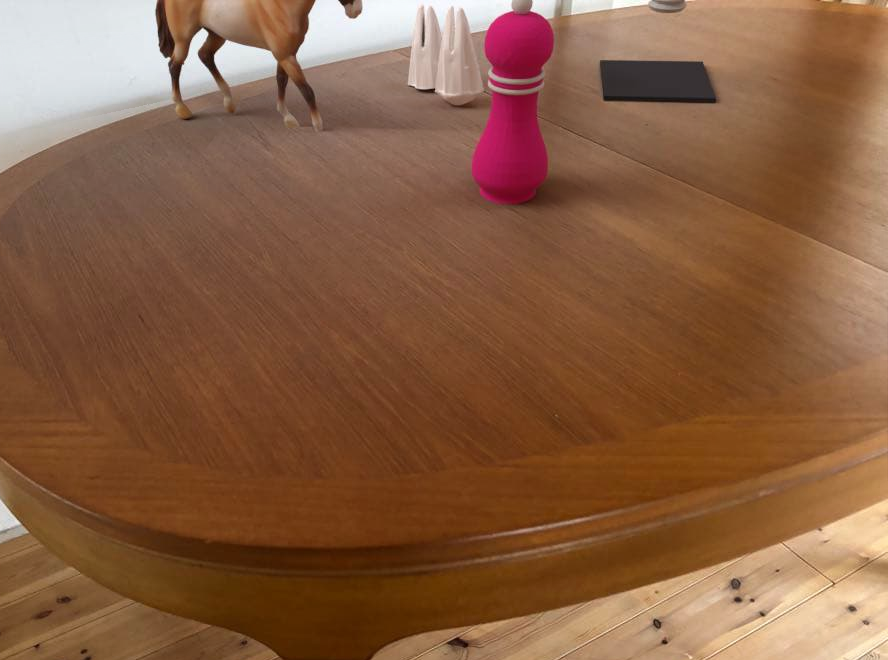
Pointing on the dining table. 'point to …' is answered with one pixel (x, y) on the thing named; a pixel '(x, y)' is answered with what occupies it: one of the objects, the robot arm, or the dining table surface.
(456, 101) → the shaker set
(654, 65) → the placemat
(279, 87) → the horse figurine
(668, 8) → the rook chess piece
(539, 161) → the pepper mill
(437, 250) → the dining table surface
